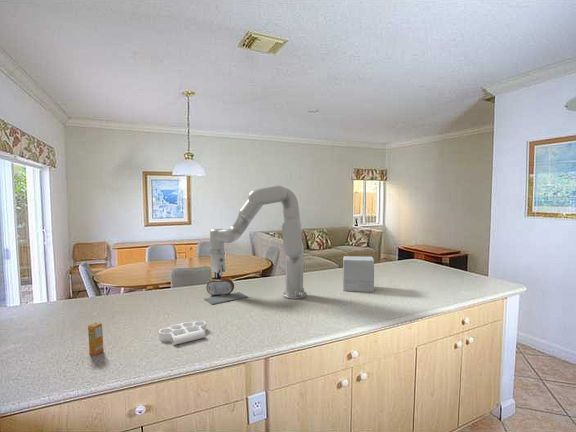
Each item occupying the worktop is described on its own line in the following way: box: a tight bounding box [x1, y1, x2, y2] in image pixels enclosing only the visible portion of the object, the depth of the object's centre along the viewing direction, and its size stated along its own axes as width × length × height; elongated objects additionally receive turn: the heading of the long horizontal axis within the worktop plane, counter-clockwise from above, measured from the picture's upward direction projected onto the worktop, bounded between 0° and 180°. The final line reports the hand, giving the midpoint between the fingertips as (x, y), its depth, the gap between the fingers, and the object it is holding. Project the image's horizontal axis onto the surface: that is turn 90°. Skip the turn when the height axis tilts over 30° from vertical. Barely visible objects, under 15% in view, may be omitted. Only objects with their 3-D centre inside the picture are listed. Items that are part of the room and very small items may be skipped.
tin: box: [205, 278, 235, 296], centre depth 176 cm, size 15×3×8 cm, turn 84°
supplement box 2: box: [342, 255, 375, 293], centre depth 189 cm, size 17×13×18 cm
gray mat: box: [204, 291, 249, 306], centre depth 171 cm, size 10×20×1 cm, turn 126°
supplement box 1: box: [87, 322, 104, 356], centre depth 111 cm, size 3×3×10 cm
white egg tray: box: [158, 320, 207, 346], centre depth 125 cm, size 3×18×15 cm
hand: (217, 284), depth 180 cm, fingers closed
